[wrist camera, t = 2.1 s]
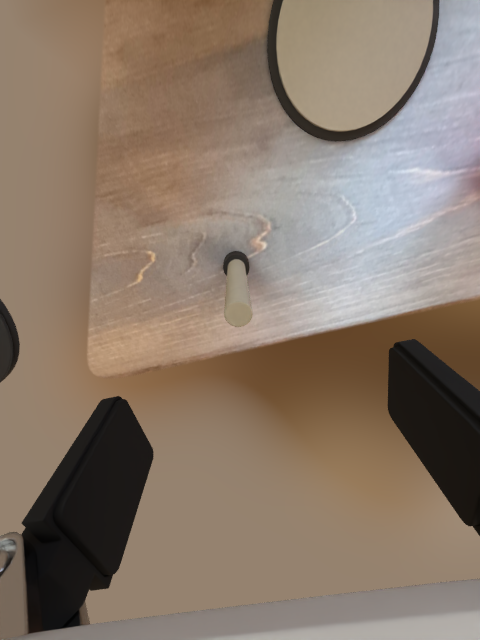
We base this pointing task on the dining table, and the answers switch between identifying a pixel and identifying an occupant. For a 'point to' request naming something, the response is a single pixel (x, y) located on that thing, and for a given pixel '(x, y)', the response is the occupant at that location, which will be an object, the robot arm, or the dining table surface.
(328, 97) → the beige coaster disc
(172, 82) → the dining table surface
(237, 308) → the pen
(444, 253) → the dining table surface
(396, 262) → the dining table surface
